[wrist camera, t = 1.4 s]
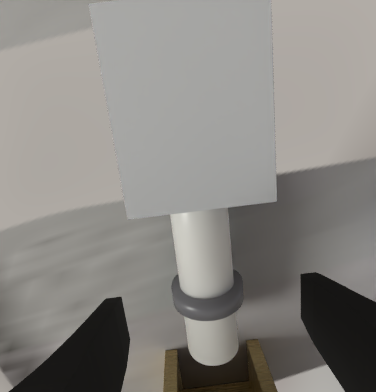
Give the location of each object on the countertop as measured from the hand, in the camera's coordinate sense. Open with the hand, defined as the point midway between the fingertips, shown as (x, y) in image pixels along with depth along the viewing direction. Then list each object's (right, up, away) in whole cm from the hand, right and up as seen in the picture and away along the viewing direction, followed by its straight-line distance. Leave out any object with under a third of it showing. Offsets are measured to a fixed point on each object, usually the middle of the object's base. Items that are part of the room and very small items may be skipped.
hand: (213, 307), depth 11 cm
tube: (-1, +4, +6) cm, 7 cm away
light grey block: (-1, +9, +6) cm, 11 cm away
